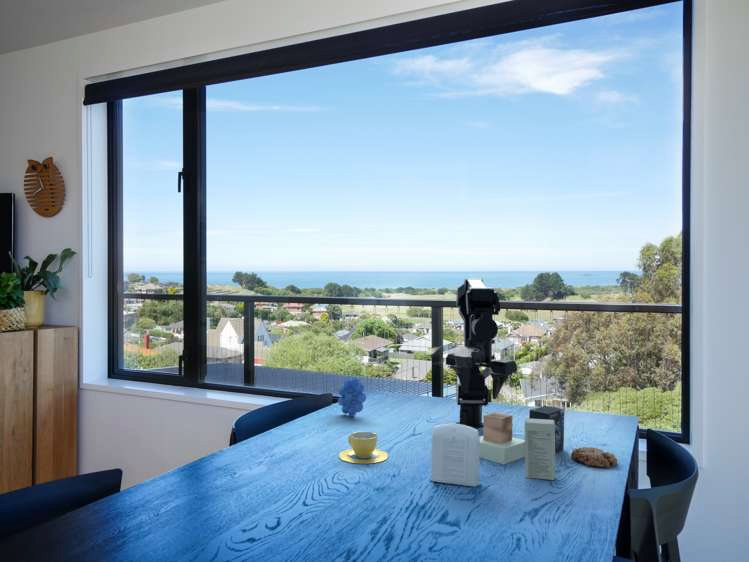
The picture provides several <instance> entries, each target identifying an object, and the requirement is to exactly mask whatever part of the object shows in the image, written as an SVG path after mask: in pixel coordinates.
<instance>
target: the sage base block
mask: <svg viewBox="0 0 749 562" xmlns="http://www.w3.org/2000/svg"><path fill="white" fill-rule="evenodd" d="M479 438H480V455H479V459H480V458H481V459H484V460H487V461H491V462H494V463H499V464H502V465H506V464H509V463H512V462H514V461H518V460H520V459H523V458H525V439H523V438H517V437H513V436H512V440H511V441H508V442H505V443H503V444H499V443H495V442H490V441H486V440H483V435H481V436H479Z"/></svg>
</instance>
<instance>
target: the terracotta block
mask: <svg viewBox="0 0 749 562" xmlns="http://www.w3.org/2000/svg"><path fill="white" fill-rule="evenodd" d="M483 423H484V426H483V435H482V436H483V440H486V441H490V442H495V443H499V444H503V443H505V442H508V441H511V440H512V437H513V415H512V414H507V413H501V412H495V411H494V412H491V413H490V412H489V413H487V414H484V415H483Z"/></svg>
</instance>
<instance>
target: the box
mask: <svg viewBox="0 0 749 562" xmlns="http://www.w3.org/2000/svg"><path fill="white" fill-rule="evenodd" d="M565 412H566V411H565V409H564V408H561V407H556V406H550V405H543V406H539V407H535V408H531V409H529V418H530V419H547V420H554V422H555V454H556V453H559V452H562V451H564V450H565V448H564V444H565V439H564V438H565Z"/></svg>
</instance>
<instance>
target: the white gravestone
mask: <svg viewBox="0 0 749 562" xmlns="http://www.w3.org/2000/svg"><path fill="white" fill-rule="evenodd" d="M432 429H433V430H432V433H431V449H430V451H431V452H430V454H431V455H430V456H431V457H430V480H431V481H432V482H437V483H443V484H450V485H458V486H466V487H474V488H475V487H478V486H479V485H480V484H479V483H480V482H479V481H480V457H479V455H480V438H479V437H480V434H479V430H478V429H477V428H472V427H469V426H466V425H462V424H456V423H442V424H438V425H437V424H436V425H435V426H433V428H432Z"/></svg>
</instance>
